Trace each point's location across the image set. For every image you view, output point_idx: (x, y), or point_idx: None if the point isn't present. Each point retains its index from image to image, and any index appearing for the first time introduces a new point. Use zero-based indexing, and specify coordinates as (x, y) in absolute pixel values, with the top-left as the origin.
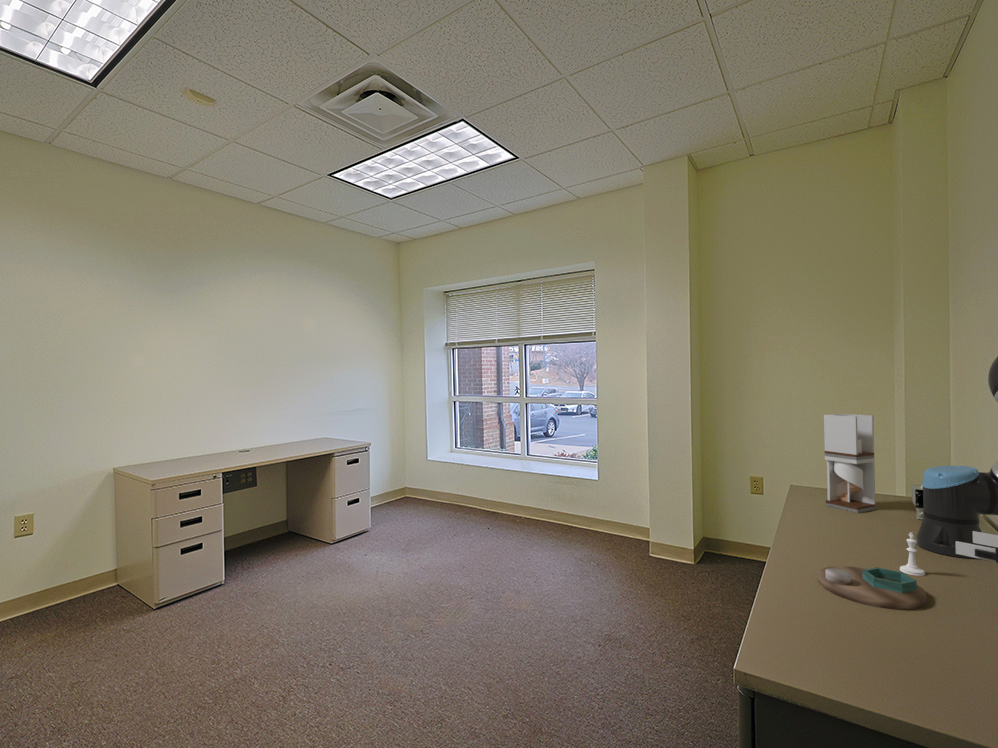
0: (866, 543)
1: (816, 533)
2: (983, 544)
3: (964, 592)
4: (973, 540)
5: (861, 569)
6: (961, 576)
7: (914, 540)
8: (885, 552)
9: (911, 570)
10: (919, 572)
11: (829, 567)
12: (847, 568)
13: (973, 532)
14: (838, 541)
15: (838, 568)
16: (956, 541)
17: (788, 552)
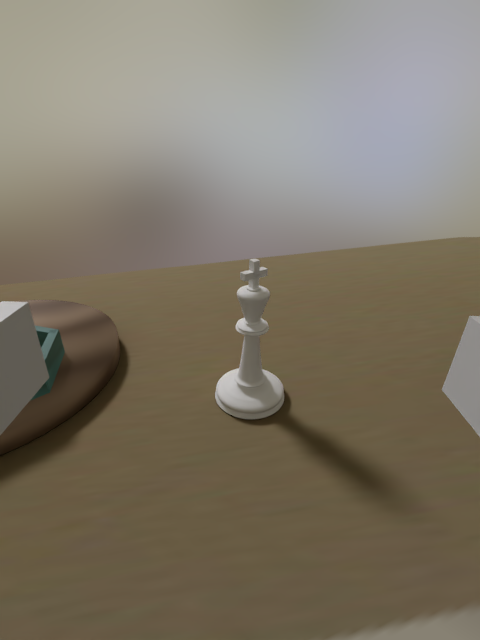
0: (389, 307)
1: (345, 268)
2: (475, 430)
3: (137, 558)
4: (449, 377)
5: (101, 329)
6: (374, 499)
7: (251, 293)
8: (366, 334)
9: (222, 387)
10: (228, 403)
11: (71, 303)
12: (88, 316)
13: (470, 324)
14: (336, 287)
15: (75, 310)
16: (17, 303)
17: (170, 273)
